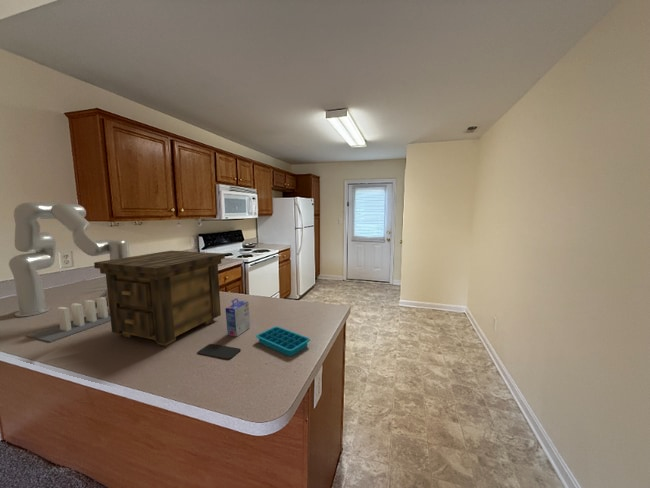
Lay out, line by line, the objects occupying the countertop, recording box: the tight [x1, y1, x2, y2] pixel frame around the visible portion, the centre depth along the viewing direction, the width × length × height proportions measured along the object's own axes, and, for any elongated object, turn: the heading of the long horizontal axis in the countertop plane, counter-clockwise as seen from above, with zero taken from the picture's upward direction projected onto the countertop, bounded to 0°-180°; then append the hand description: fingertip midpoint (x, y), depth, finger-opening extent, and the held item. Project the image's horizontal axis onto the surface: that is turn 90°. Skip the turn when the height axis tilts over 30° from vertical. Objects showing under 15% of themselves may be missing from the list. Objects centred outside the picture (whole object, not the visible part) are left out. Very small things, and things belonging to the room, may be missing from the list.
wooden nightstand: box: [93, 250, 226, 347], centre depth 118 cm, size 35×35×33 cm
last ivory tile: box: [57, 306, 71, 331], centre depth 117 cm, size 5×2×10 cm, turn 71°
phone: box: [197, 343, 242, 361], centre depth 99 cm, size 7×1×15 cm
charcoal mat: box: [26, 311, 111, 343], centre depth 125 cm, size 17×33×1 cm, turn 161°
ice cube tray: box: [255, 326, 311, 357], centre depth 104 cm, size 12×20×3 cm, turn 53°
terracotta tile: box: [106, 294, 110, 313], centre depth 136 cm, size 5×2×10 cm, turn 71°
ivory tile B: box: [83, 299, 97, 322], centre depth 127 cm, size 5×2×10 cm, turn 71°
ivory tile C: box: [70, 302, 85, 326], centre depth 122 cm, size 5×2×10 cm, turn 71°
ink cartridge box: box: [224, 297, 251, 337], centre depth 115 cm, size 10×6×14 cm, turn 161°
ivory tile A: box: [95, 296, 108, 318], centre depth 131 cm, size 5×2×10 cm, turn 71°
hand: (123, 297), depth 141 cm, fingers closed
